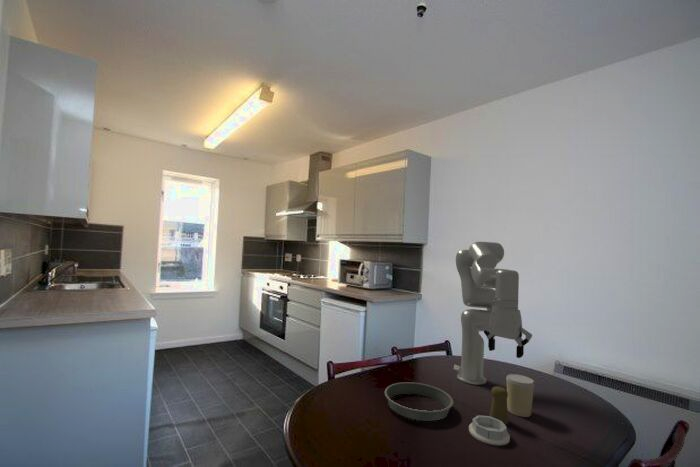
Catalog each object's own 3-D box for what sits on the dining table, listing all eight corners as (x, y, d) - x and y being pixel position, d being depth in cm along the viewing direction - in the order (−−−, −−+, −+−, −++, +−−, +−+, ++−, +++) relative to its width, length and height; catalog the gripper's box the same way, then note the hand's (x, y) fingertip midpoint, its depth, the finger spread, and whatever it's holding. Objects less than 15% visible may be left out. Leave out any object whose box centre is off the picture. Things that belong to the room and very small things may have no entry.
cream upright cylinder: (530, 408, 126) (531, 376, 126) (535, 420, 117) (536, 385, 118) (503, 403, 129) (504, 372, 129) (506, 414, 120) (507, 380, 121)
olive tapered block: (510, 426, 112) (511, 392, 112) (491, 423, 113) (492, 390, 114) (505, 417, 118) (506, 385, 118) (487, 414, 119) (488, 383, 120)
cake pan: (464, 409, 123) (465, 397, 123) (430, 433, 105) (431, 419, 105) (407, 387, 139) (408, 376, 140) (370, 405, 121) (371, 392, 122)
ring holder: (461, 432, 106) (462, 421, 106) (479, 420, 114) (479, 410, 114) (500, 450, 97) (500, 438, 98) (516, 436, 106) (516, 425, 106)
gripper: (478, 301, 123) (476, 349, 122) (527, 308, 110) (526, 362, 109) (488, 301, 128) (486, 346, 127) (536, 307, 115) (535, 358, 114)
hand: (505, 353), depth 118 cm, fingers open, 9 cm apart
